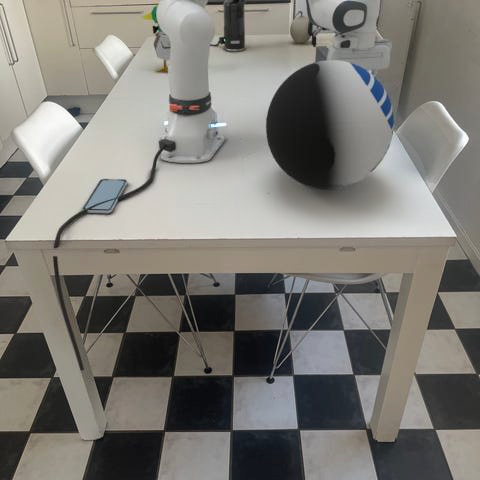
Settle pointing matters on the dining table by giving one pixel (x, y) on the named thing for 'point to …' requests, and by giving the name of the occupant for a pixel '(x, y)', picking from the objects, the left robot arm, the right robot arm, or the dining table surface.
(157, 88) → the dining table surface
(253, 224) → the dining table surface
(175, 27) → the left robot arm
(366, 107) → the black and white ball
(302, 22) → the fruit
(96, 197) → the smartphone
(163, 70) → the toy
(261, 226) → the dining table surface
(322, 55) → the post
